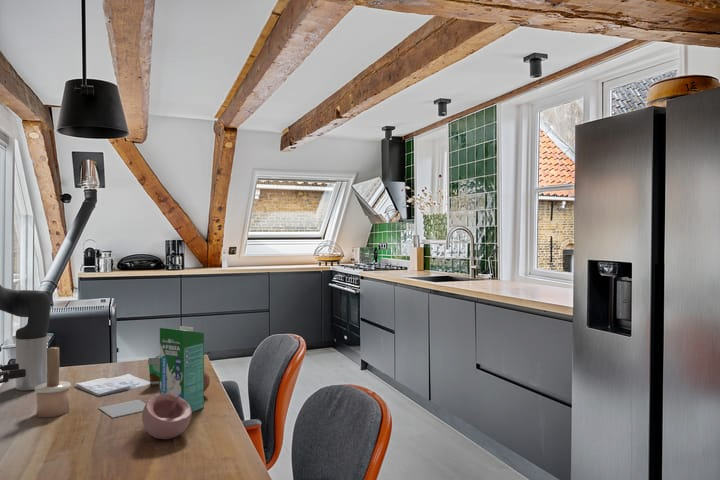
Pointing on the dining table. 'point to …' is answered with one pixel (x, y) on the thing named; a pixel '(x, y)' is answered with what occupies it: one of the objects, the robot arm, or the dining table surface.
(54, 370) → the beige piece
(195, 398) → the milk carton
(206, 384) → the onion
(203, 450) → the dining table surface
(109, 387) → the folded bicycle print towel
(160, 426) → the pink rounded bowl
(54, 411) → the canister
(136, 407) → the mat
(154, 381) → the food container
